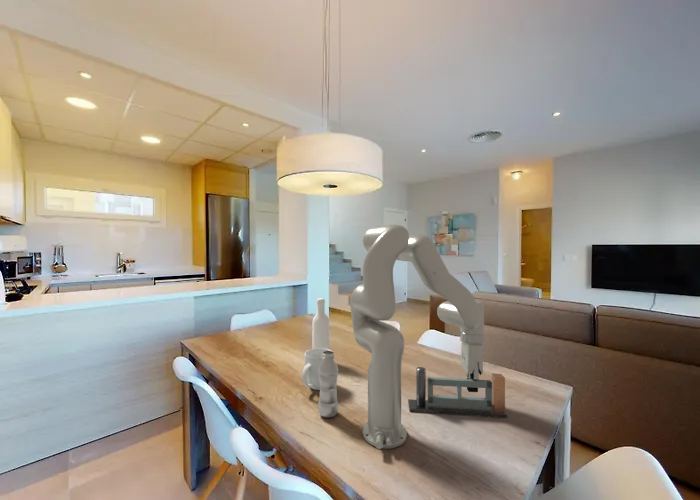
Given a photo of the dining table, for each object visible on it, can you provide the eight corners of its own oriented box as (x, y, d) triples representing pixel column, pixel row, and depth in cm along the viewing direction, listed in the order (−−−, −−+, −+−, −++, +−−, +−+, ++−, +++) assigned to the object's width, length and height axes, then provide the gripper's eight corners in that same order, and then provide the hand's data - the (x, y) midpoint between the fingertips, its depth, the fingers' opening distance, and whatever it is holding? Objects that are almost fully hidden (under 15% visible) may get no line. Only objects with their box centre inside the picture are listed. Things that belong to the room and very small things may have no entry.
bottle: (311, 360, 141) (311, 297, 141) (327, 359, 143) (327, 297, 143) (313, 367, 133) (313, 300, 133) (330, 365, 135) (330, 299, 135)
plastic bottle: (327, 407, 99) (327, 347, 99) (342, 414, 95) (342, 352, 95) (313, 415, 94) (313, 353, 94) (329, 423, 90) (328, 357, 90)
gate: (428, 403, 98) (428, 379, 98) (427, 400, 99) (427, 377, 99) (491, 407, 95) (491, 382, 95) (490, 404, 97) (490, 380, 97)
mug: (315, 400, 104) (315, 363, 104) (291, 393, 109) (291, 357, 109) (338, 383, 117) (338, 350, 117) (315, 377, 122) (315, 346, 122)
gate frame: (506, 417, 93) (506, 376, 93) (409, 411, 96) (409, 371, 96) (499, 407, 99) (499, 368, 99) (408, 402, 102) (408, 364, 102)
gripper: (455, 330, 108) (455, 380, 108) (466, 343, 93) (466, 401, 94) (476, 331, 107) (477, 381, 107) (491, 344, 92) (491, 403, 93)
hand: (472, 390), depth 101 cm, fingers closed
